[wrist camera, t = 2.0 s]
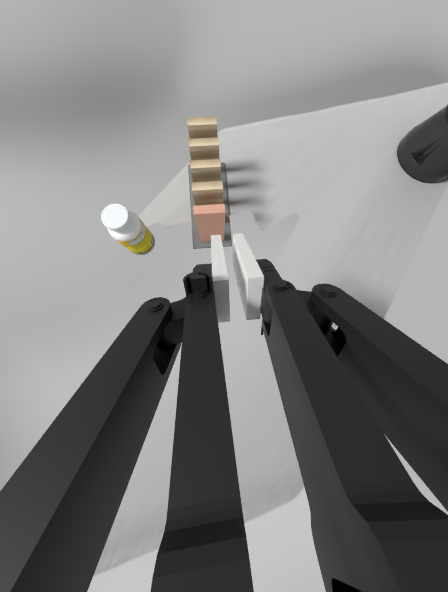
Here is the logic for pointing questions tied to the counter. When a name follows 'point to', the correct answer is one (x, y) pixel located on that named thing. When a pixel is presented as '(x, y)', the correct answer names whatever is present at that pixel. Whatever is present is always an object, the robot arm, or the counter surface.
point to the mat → (227, 232)
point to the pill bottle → (128, 229)
